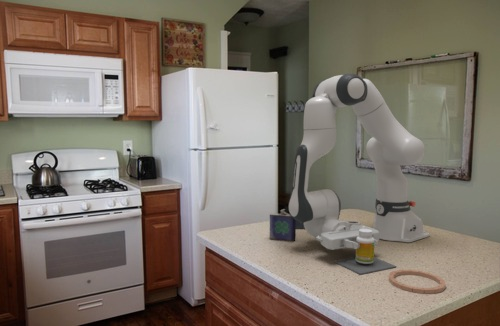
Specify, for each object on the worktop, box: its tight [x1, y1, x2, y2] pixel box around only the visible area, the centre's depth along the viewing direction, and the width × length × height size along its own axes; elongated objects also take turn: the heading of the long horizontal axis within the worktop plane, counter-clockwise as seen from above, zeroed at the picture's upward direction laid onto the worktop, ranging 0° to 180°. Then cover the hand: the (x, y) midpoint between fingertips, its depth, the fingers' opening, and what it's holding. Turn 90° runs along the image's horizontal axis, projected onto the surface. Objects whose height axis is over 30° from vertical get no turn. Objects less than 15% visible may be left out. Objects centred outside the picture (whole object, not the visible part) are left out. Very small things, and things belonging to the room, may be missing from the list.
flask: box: [269, 208, 297, 243], centre depth 150 cm, size 10×3×12 cm, turn 71°
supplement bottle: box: [355, 229, 375, 264], centre depth 124 cm, size 5×5×10 cm
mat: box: [333, 256, 397, 276], centre depth 124 cm, size 14×12×1 cm
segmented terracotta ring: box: [388, 269, 447, 295], centre depth 110 cm, size 14×14×1 cm
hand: (367, 244), depth 123 cm, fingers closed on supplement bottle, 5 cm apart
